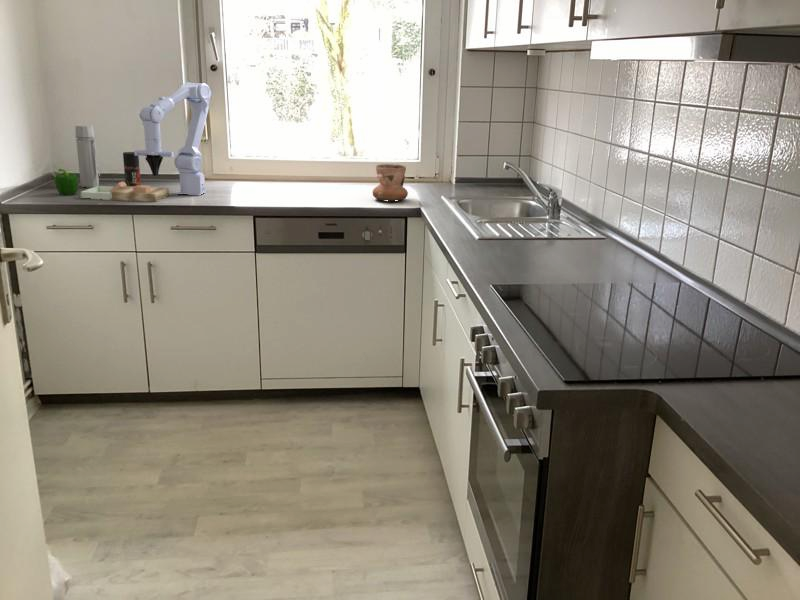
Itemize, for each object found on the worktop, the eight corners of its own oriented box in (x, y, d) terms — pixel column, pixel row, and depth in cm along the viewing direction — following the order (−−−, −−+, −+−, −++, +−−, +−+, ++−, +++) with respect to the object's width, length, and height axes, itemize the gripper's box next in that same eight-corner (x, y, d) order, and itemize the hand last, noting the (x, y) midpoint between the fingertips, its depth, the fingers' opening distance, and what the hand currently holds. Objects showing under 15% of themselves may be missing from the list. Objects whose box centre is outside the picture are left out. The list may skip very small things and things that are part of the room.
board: (168, 195, 285) (168, 188, 284) (155, 201, 272) (155, 194, 271) (127, 193, 285) (126, 186, 284) (112, 199, 272) (111, 191, 271)
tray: (126, 193, 286) (125, 187, 285) (110, 199, 272) (109, 193, 271) (98, 192, 286) (97, 185, 286) (80, 198, 272) (79, 192, 271)
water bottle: (76, 187, 294) (69, 125, 286) (89, 184, 301) (83, 124, 294) (94, 189, 292) (88, 127, 284) (107, 186, 299) (102, 125, 291)
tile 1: (126, 185, 283) (123, 181, 283) (121, 187, 278) (118, 183, 278) (118, 192, 284) (114, 188, 284) (112, 194, 280) (109, 190, 279)
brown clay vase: (391, 205, 282) (392, 169, 278) (363, 200, 290) (364, 165, 286) (417, 200, 296) (419, 165, 292) (389, 195, 304) (390, 162, 300)
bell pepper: (84, 193, 283) (81, 167, 280) (73, 196, 275) (70, 170, 272) (64, 192, 284) (61, 166, 281) (52, 195, 276) (49, 169, 273)
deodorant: (131, 191, 291) (128, 154, 286) (123, 189, 294) (119, 152, 290) (144, 189, 296) (141, 153, 291) (135, 187, 299) (132, 151, 294)
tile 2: (150, 190, 276) (150, 185, 276) (146, 193, 272) (145, 187, 271) (138, 190, 277) (137, 185, 276) (133, 192, 272) (132, 187, 271)
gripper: (129, 139, 265) (132, 175, 269) (167, 141, 265) (170, 177, 269) (137, 137, 272) (140, 173, 276) (174, 139, 271) (176, 175, 275)
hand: (155, 175), depth 273 cm, fingers closed
